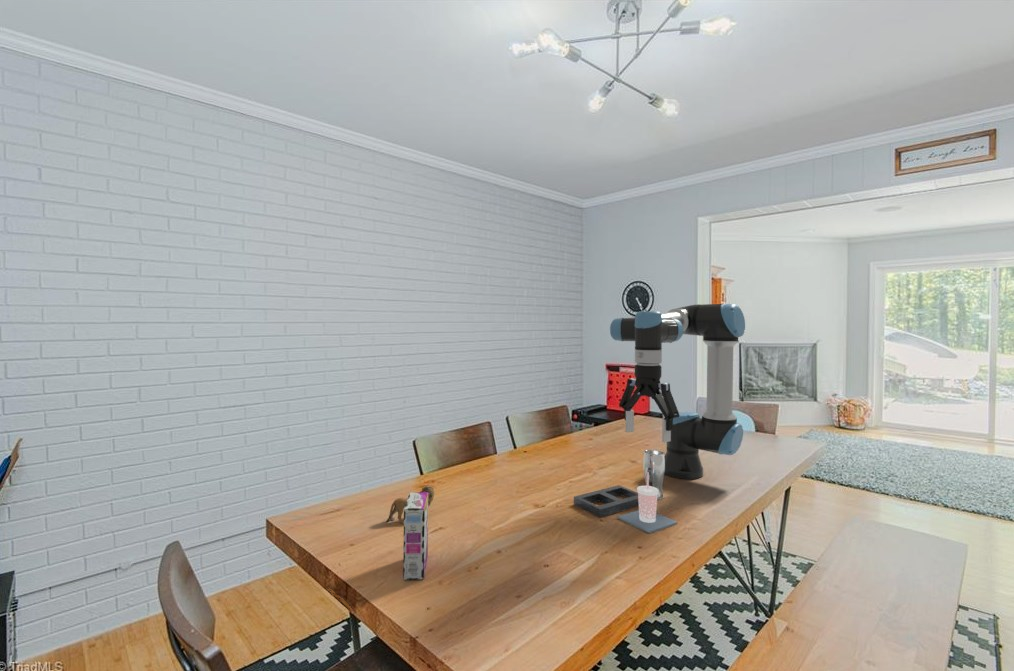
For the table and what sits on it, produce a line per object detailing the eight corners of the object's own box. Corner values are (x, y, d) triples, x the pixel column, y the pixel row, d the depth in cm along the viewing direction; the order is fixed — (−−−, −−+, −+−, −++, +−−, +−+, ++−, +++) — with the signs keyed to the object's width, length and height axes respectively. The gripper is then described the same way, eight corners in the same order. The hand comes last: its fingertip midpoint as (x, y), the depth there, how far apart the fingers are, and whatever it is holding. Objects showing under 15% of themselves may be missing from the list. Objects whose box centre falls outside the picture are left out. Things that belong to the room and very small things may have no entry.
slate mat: (645, 509, 148) (645, 508, 148) (677, 523, 137) (677, 522, 137) (617, 518, 141) (617, 516, 141) (648, 533, 131) (649, 531, 131)
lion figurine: (430, 511, 146) (430, 482, 146) (437, 517, 142) (437, 487, 141) (383, 521, 139) (383, 490, 139) (388, 528, 134) (388, 496, 134)
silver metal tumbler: (665, 501, 154) (666, 455, 154) (643, 499, 156) (644, 454, 155) (663, 493, 161) (663, 449, 161) (642, 492, 163) (642, 448, 162)
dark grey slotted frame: (618, 492, 162) (618, 485, 162) (646, 503, 152) (646, 496, 152) (573, 504, 152) (573, 496, 152) (600, 517, 142) (600, 509, 141)
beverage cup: (655, 525, 135) (655, 477, 134) (633, 520, 138) (634, 473, 138) (660, 518, 140) (661, 471, 140) (640, 513, 143) (640, 467, 143)
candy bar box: (425, 580, 107) (425, 508, 107) (402, 581, 107) (402, 509, 106) (429, 555, 119) (428, 491, 118) (408, 556, 118) (408, 491, 118)
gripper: (607, 361, 147) (607, 429, 148) (675, 368, 126) (674, 448, 127) (624, 360, 151) (624, 426, 152) (693, 367, 130) (692, 444, 131)
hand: (647, 436), depth 139 cm, fingers open, 13 cm apart
